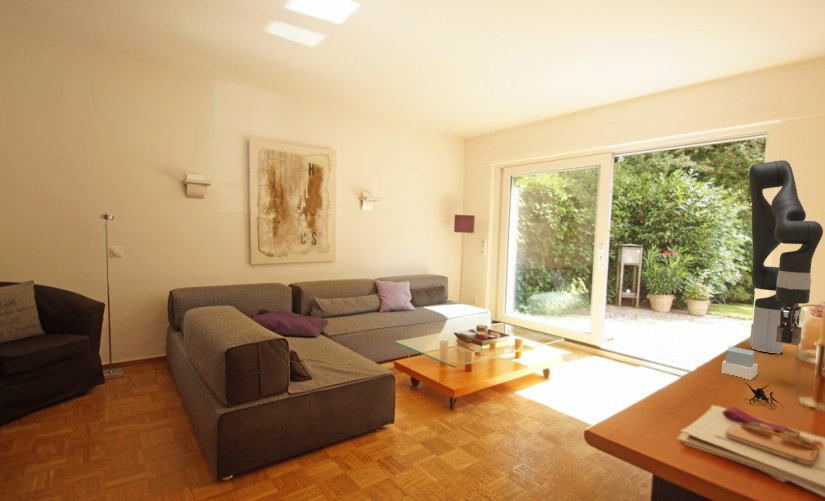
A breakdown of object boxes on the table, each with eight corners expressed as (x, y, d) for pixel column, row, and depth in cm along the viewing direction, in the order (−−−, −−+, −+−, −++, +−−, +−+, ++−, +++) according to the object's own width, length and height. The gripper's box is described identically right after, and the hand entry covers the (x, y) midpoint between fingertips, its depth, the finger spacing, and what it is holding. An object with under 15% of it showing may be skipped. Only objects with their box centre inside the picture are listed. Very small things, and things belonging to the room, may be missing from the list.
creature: (789, 416, 105) (768, 397, 112) (794, 398, 103) (773, 380, 111) (755, 413, 106) (737, 394, 113) (760, 395, 104) (741, 378, 112)
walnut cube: (779, 338, 127) (780, 324, 127) (800, 342, 123) (801, 327, 123) (775, 341, 124) (777, 326, 124) (797, 345, 120) (798, 329, 120)
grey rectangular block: (728, 357, 136) (729, 346, 136) (753, 363, 131) (754, 351, 131) (725, 362, 131) (726, 350, 131) (751, 367, 127) (752, 355, 126)
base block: (728, 369, 137) (729, 357, 136) (756, 376, 131) (757, 364, 130) (721, 373, 132) (722, 361, 132) (750, 381, 126) (751, 368, 126)
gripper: (782, 282, 130) (777, 334, 131) (771, 286, 121) (766, 341, 122) (814, 285, 124) (809, 339, 125) (805, 290, 115) (800, 348, 116)
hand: (788, 340), depth 124 cm, fingers closed on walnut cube, 4 cm apart
